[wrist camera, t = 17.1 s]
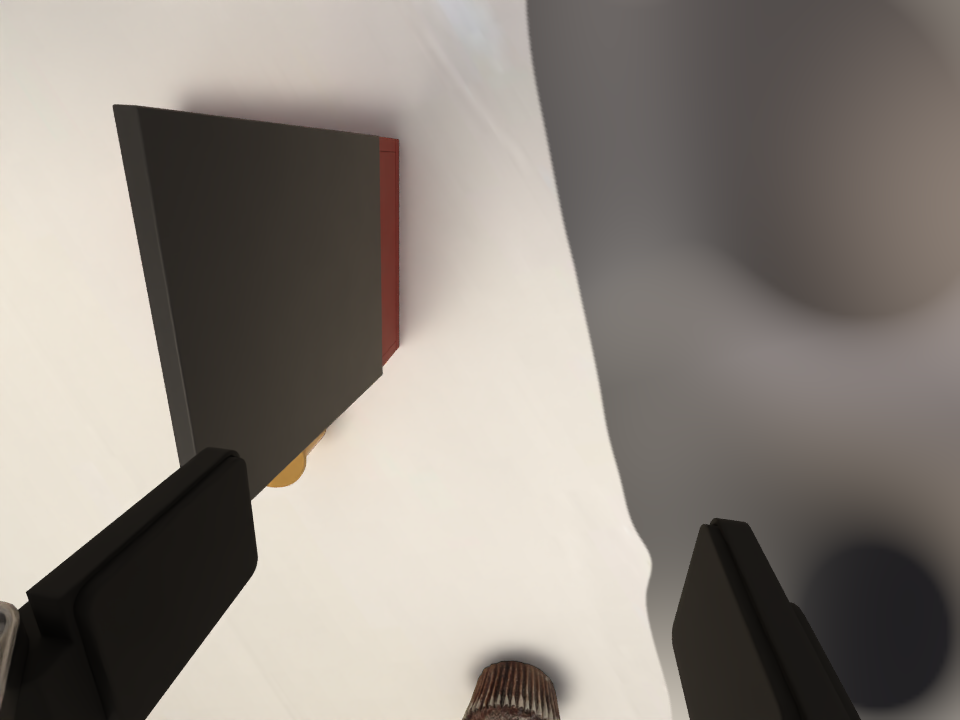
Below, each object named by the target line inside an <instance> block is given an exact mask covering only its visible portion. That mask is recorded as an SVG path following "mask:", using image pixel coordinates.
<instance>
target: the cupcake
mask: <svg viewBox="0 0 960 720" xmlns="http://www.w3.org/2000/svg"><path fill="white" fill-rule="evenodd" d="M462 720H560V715H559V709H558V703H557V698H556V693H555V689H554V686H553V683H552V682H551V680H550V678H549V677H547V676H546V675H545V674H544V673H543V672H542V671H541V670H539V669H538V668H536V667H534V666H532V665H529V664H523V663H522V662H516V661H501V662H499V663H497V664H492V665H491V666H490V667H486V668H485V669H484V670H483V673H482V675H481V676H480V677H479V678H478V681H477V684H476V687H475V690H474V693H473V695H472V698H471V701H470V703H469V706H468V708H467V710H466V712H465V714H464V716H463V719H462Z"/></svg>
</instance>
